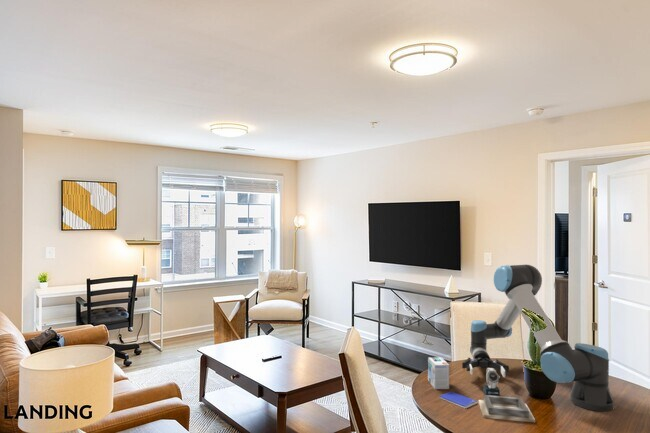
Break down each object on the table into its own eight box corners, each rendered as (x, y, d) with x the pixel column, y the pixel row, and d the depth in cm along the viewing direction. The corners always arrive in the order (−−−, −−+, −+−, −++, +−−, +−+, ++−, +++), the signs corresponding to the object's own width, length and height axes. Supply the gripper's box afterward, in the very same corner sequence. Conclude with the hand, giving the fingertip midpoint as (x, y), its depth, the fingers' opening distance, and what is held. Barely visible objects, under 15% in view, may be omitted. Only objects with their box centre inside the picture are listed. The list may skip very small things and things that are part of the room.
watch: (487, 398, 179) (487, 372, 179) (482, 390, 187) (481, 365, 187) (501, 399, 178) (501, 372, 178) (495, 391, 186) (495, 365, 186)
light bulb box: (427, 380, 199) (427, 357, 199) (441, 380, 199) (441, 356, 199) (434, 389, 188) (434, 364, 188) (449, 389, 189) (449, 364, 189)
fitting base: (526, 406, 171) (526, 397, 171) (535, 422, 158) (535, 412, 158) (478, 402, 175) (478, 393, 175) (483, 417, 161) (483, 408, 161)
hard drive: (477, 400, 174) (451, 390, 184) (465, 405, 169) (439, 395, 179) (477, 404, 174) (451, 394, 184) (465, 409, 169) (439, 399, 179)
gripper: (508, 367, 208) (518, 383, 187) (454, 363, 214) (458, 379, 193) (508, 351, 208) (518, 366, 187) (454, 348, 214) (458, 362, 193)
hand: (487, 373), depth 190 cm, fingers open, 13 cm apart
